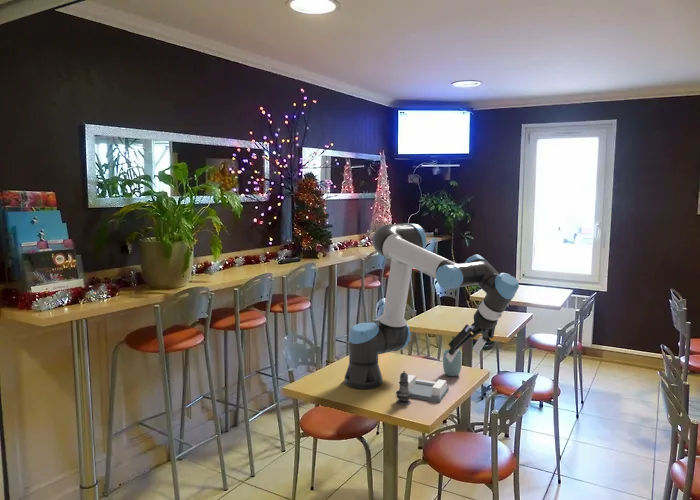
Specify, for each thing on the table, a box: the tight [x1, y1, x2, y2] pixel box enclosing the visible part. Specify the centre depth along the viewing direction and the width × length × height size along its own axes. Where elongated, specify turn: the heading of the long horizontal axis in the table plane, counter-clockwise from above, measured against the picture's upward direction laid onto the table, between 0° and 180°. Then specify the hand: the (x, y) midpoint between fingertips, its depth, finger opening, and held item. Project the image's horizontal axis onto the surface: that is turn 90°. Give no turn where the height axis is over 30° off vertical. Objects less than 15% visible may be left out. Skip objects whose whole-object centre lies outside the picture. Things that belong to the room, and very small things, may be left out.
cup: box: [442, 348, 463, 377], centre depth 220 cm, size 8×8×10 cm
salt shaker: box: [395, 370, 412, 406], centre depth 191 cm, size 6×6×12 cm
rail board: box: [408, 374, 450, 403], centre depth 201 cm, size 16×13×4 cm
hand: (462, 355), depth 188 cm, fingers open, 13 cm apart
